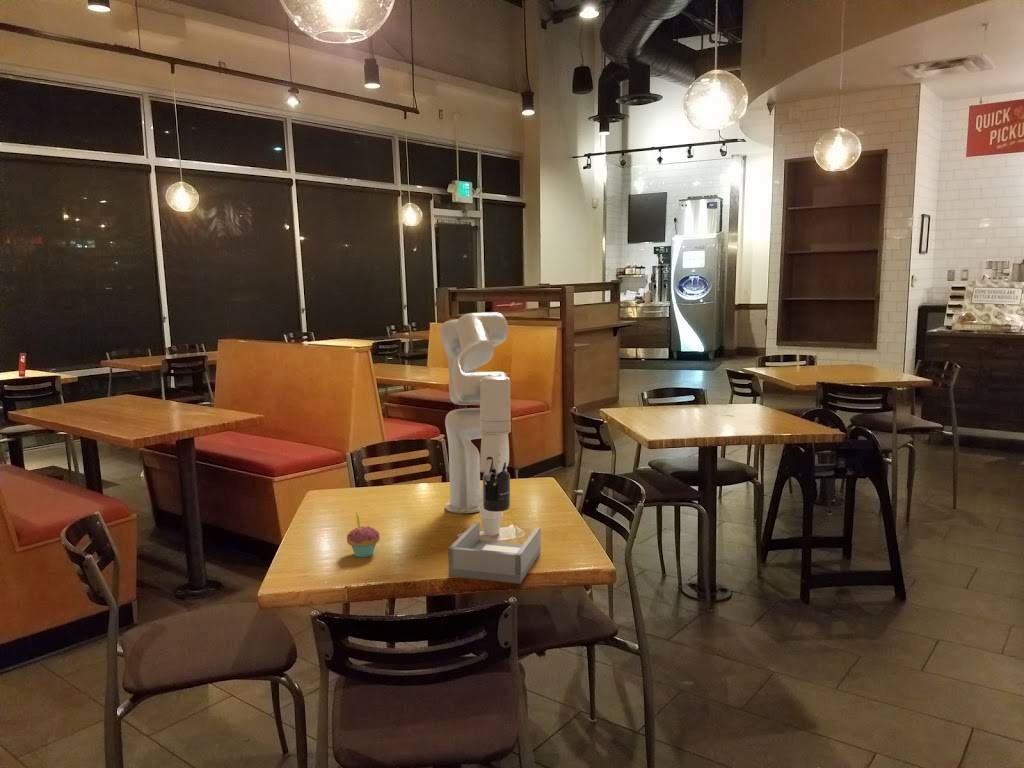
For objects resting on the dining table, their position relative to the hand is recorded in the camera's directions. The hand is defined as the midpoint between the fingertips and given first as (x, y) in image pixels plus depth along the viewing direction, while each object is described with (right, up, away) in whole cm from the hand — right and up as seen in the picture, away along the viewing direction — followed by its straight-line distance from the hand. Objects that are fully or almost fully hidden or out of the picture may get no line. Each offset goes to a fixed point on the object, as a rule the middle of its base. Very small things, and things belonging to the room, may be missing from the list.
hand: (496, 495), depth 180 cm
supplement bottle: (0, -3, 0) cm, 4 cm away
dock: (0, -18, +2) cm, 18 cm away
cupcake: (-35, -17, +10) cm, 40 cm away
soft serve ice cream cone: (-2, -15, +24) cm, 28 cm away
